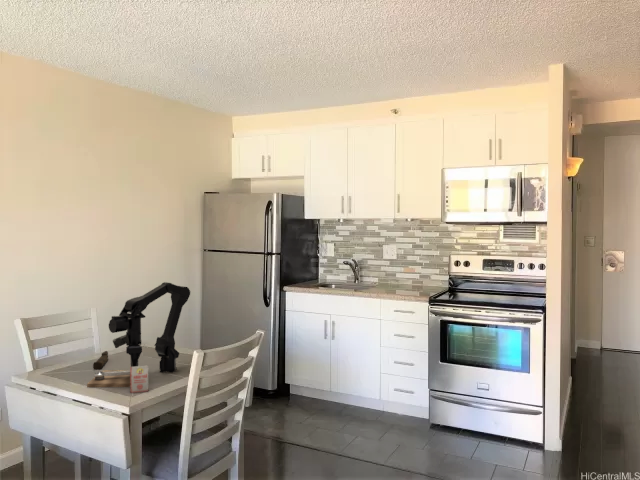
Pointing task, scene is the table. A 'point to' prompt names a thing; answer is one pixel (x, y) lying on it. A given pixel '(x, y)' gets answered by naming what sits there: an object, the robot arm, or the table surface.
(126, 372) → the lever
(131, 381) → the white red carton
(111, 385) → the lever board
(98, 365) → the hand tool
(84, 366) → the table surface
